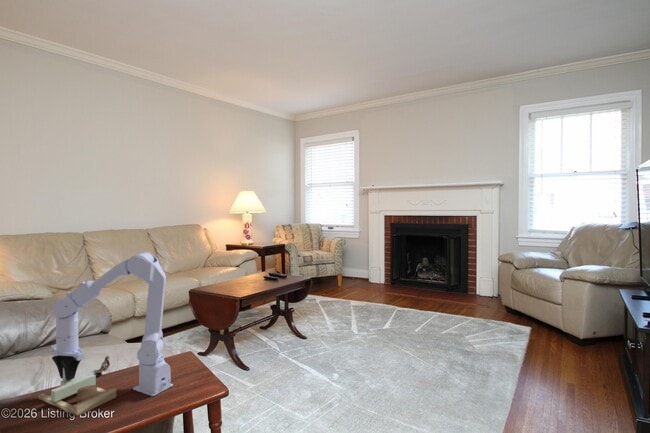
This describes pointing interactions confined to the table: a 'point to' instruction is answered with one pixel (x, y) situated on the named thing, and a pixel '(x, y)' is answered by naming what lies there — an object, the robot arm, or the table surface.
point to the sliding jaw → (71, 386)
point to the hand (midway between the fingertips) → (67, 378)
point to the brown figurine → (103, 366)
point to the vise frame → (84, 405)
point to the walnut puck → (86, 392)
